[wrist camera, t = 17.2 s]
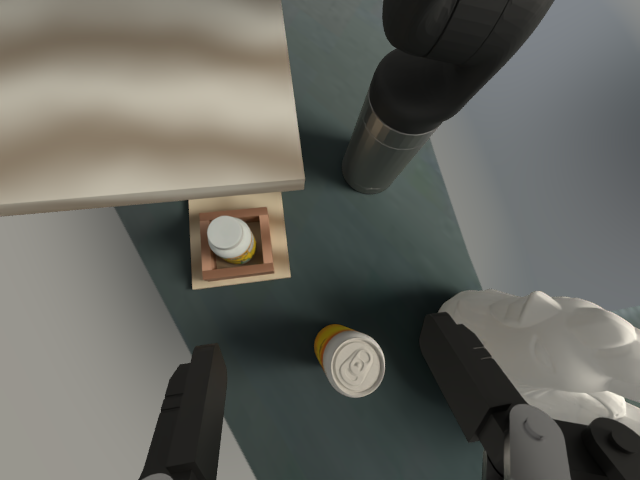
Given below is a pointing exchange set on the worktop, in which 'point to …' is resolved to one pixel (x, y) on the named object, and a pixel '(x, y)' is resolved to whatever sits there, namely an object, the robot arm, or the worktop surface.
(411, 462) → the worktop surface
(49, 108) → the awning socket stand
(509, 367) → the white plastic jug
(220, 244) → the supplement bottle
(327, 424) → the worktop surface
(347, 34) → the worktop surface
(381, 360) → the yellow soda can
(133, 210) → the worktop surface
